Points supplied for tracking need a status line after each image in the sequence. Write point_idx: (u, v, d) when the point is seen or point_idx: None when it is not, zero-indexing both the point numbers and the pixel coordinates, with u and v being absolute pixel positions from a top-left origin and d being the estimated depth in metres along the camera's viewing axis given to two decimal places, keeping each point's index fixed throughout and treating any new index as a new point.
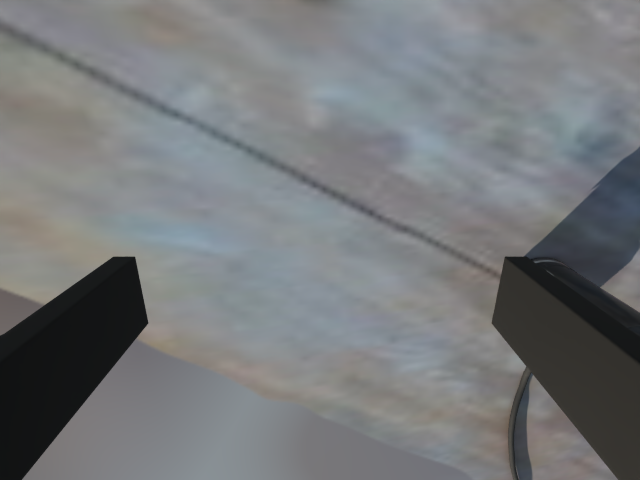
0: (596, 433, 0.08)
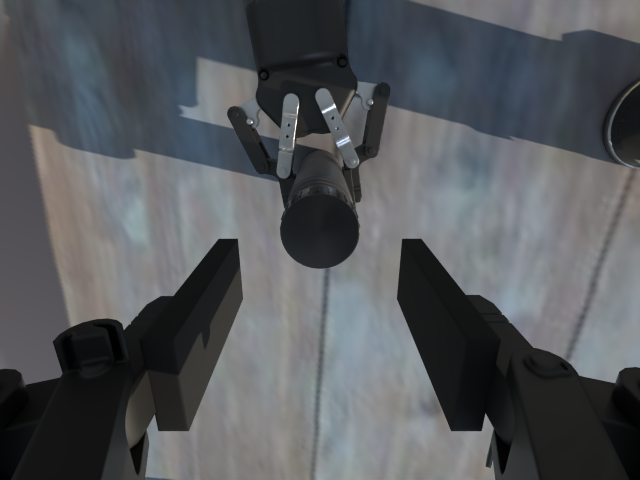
0: (436, 377, 0.10)
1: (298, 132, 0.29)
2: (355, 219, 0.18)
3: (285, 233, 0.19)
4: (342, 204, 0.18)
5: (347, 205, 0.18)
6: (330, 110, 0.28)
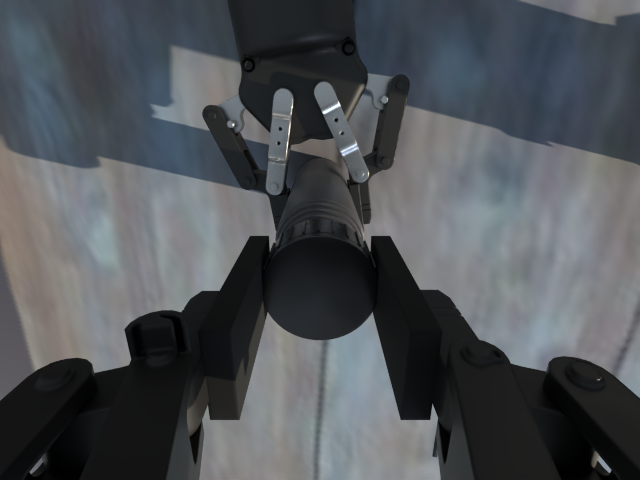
0: (391, 369, 0.10)
1: (293, 138, 0.23)
2: (373, 272, 0.12)
3: (269, 292, 0.13)
4: (354, 251, 0.12)
5: (361, 252, 0.12)
6: (332, 109, 0.22)
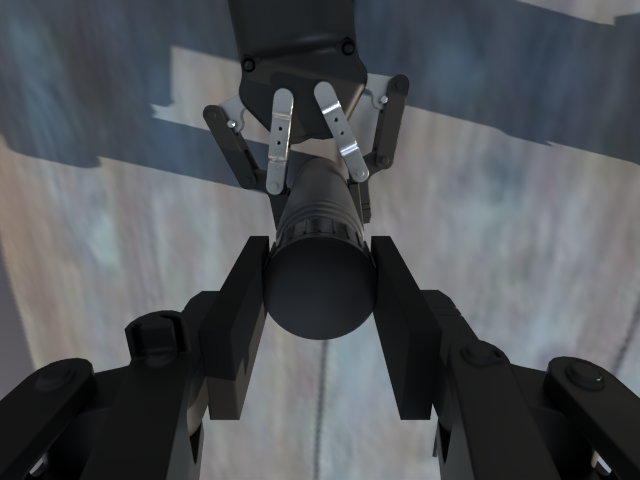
0: (391, 369, 0.10)
1: (293, 137, 0.23)
2: (289, 246, 0.12)
3: (329, 333, 0.13)
4: (271, 268, 0.12)
5: (271, 261, 0.12)
6: (332, 109, 0.22)
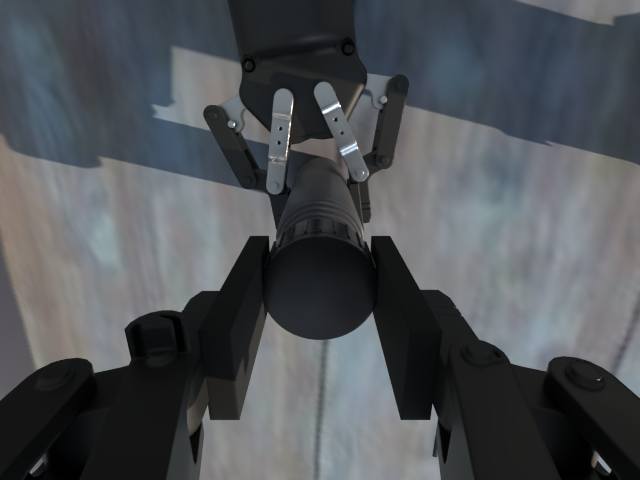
0: (392, 369, 0.10)
1: (293, 137, 0.24)
2: (279, 322, 0.13)
3: (368, 273, 0.12)
4: (305, 334, 0.13)
5: (297, 334, 0.13)
6: (332, 109, 0.22)
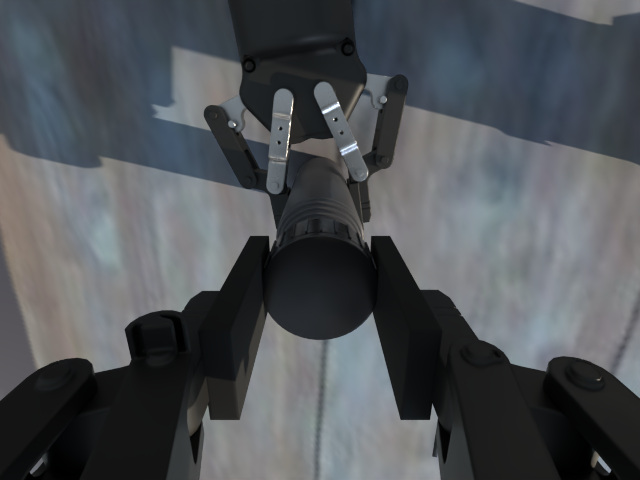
0: (391, 369, 0.10)
1: (293, 137, 0.24)
2: (362, 321, 0.13)
3: (292, 250, 0.12)
4: (373, 296, 0.13)
5: (374, 302, 0.13)
6: (332, 109, 0.22)
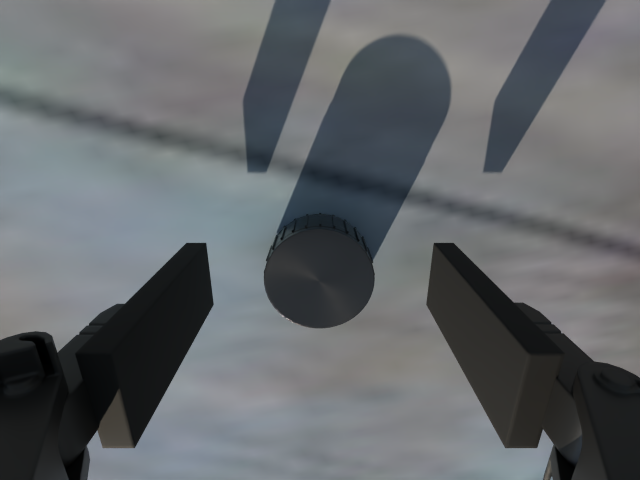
0: (483, 389, 0.09)
1: None
2: (358, 310, 0.14)
3: (293, 243, 0.13)
4: (368, 287, 0.14)
5: (370, 292, 0.14)
6: None
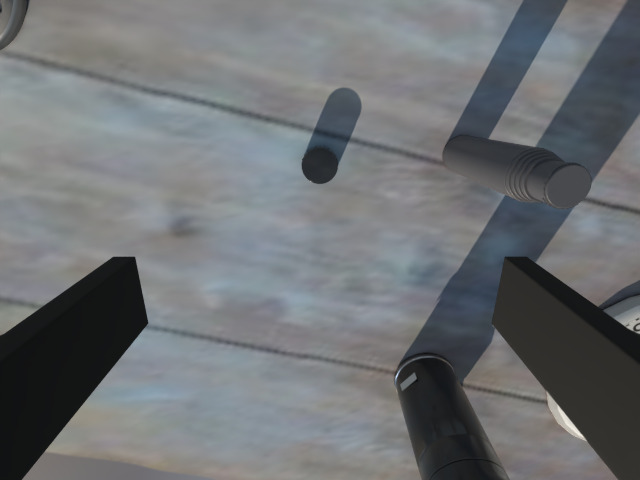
0: (596, 434, 0.08)
1: None
2: (332, 176, 0.42)
3: (311, 152, 0.41)
4: (335, 168, 0.42)
5: (336, 170, 0.42)
6: None
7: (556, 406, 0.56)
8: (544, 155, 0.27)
